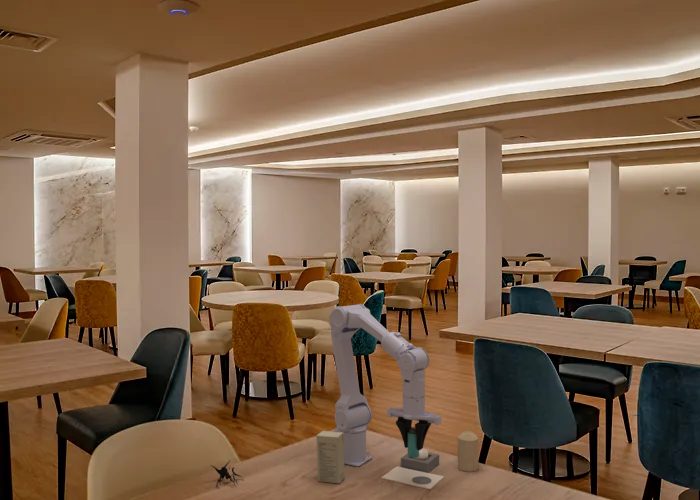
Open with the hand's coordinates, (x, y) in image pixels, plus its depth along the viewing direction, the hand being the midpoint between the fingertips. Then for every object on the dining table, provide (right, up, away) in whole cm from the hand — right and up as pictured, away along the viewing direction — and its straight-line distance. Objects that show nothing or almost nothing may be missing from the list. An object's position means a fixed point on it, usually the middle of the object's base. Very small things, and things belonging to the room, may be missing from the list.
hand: (413, 447), depth 162 cm
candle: (+16, -9, +10) cm, 21 cm away
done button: (+3, -7, +12) cm, 14 cm away
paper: (0, -9, +3) cm, 9 cm away
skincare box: (-22, -9, +2) cm, 24 cm away
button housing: (+3, -9, +12) cm, 15 cm away
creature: (-48, -9, 0) cm, 49 cm away
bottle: (0, -2, 0) cm, 2 cm away
